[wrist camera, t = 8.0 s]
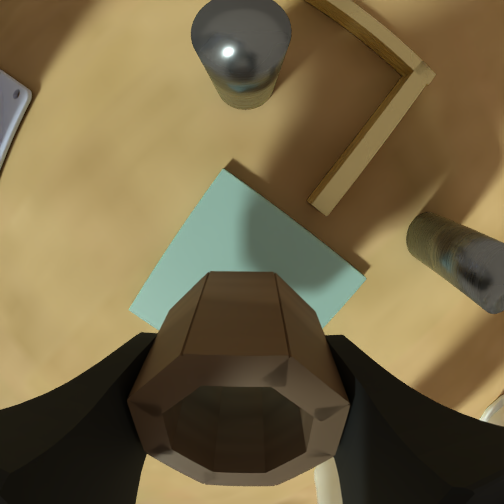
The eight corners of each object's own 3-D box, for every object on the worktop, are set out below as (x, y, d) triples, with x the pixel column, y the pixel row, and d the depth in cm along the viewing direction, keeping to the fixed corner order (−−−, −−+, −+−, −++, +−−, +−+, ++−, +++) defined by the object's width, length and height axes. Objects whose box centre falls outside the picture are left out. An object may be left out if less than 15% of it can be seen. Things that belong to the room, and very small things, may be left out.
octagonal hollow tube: (179, 387, 12) (155, 478, 7) (164, 270, 10) (112, 347, 6) (306, 389, 12) (325, 482, 7) (320, 271, 10) (364, 351, 6)
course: (181, 110, 12) (130, 79, 6) (360, -71, 9) (396, -132, 3) (409, 288, 15) (473, 352, 9) (530, 95, 11) (600, 93, 5)
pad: (131, 305, 15) (128, 309, 14) (223, 168, 13) (222, 168, 12) (260, 384, 16) (260, 390, 16) (363, 274, 14) (366, 278, 14)
